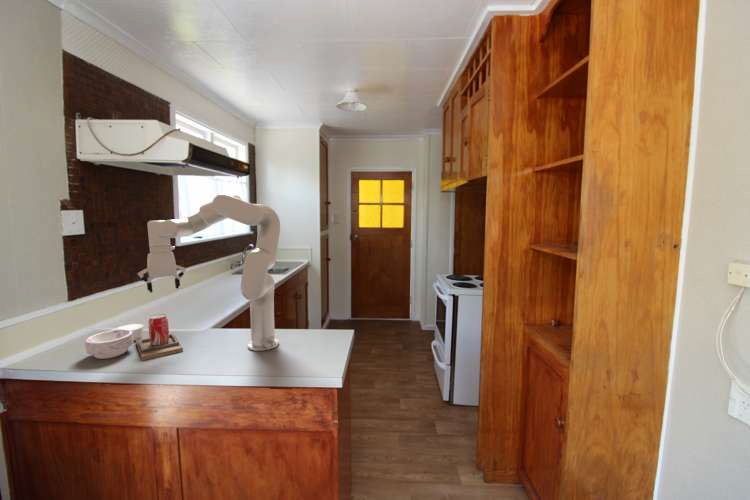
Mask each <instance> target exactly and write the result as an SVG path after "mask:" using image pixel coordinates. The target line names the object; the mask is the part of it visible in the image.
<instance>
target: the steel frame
mask: <svg viewBox="0 0 750 500" xmlns="http://www.w3.org/2000/svg"><path fill="white" fill-rule="evenodd" d="M170 337H172V339H173V341H174V342H173V343H168V344H164V345H159V346H154V347H149V348H144V345H143V343H145V342H150V338H149V337H147V338H148V339H145V338H142V339H143V340H140V339H138V340H139V345H140V348H141V351H142V353H144V352H148V351H153V350H157V349H162V348H167V347H171V346H176V345H179V343H180V341H179V340H178V338H177V336H176V335H175V333H173V334H171V333H169V338H170Z"/></svg>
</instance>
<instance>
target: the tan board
mask: <svg viewBox="0 0 750 500" xmlns="http://www.w3.org/2000/svg"><path fill="white" fill-rule="evenodd" d="M170 334H174V333H173V332H172V333H170ZM148 338H149V337H147V338H139V339H137V340H135V341H136V343H135V344H136V347H137V349H138V352H139V355H140V358H141V361H146V360H151V359H154V358H160V357H164V356H168V355H173V354H177V353H182V352H184V348H183V345H182V344H181V342H179V345H176V346H171V347H167V348H162V349H157V350H153V351H148V352H144V353H142V351H141V348H140V345H139V340H143V339H148ZM173 342H174V341H173V339H172V337H170V338H169V341H168V342H167V343H166V344H168V343H173ZM143 345H144V348H149V347H154V346H153V345H151V344H150V342H145V343H143Z"/></svg>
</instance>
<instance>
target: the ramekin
mask: <svg viewBox="0 0 750 500" xmlns="http://www.w3.org/2000/svg"><path fill="white" fill-rule="evenodd" d="M120 329H126V330H131V331H132V332H133V342H134V341H136V340H140V339H142V336H143V332H144V331H143V330H144V324H142V323H129V324H125V325H120V326H117V327H115V328H114V329H113V330H120Z"/></svg>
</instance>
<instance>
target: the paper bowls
mask: <svg viewBox="0 0 750 500" xmlns="http://www.w3.org/2000/svg"><path fill="white" fill-rule="evenodd" d="M133 344H134V341H133V332H132V331H131V330H126V329H120V330H114V329H112V330H107V331H103V332H99V333H96V334H93V335H91V336H88V337H87V338H86V339H85V341H84V345H85V351H86V354H88V355H92V356H93V357H94V358H96V359H100V360H101V359H102V360H106V359H107V360H108V359H112V358H116V357H119V356H122V355H124V354H125V353H126V352H127V351H128V349H129V348H130V347H131V346H132V345H133Z"/></svg>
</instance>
